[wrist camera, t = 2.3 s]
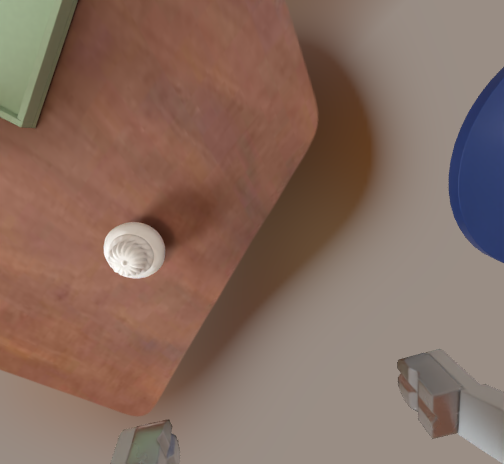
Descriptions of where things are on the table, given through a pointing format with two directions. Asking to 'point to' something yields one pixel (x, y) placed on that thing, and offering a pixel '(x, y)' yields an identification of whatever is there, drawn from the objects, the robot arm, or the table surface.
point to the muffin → (134, 250)
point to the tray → (30, 54)
